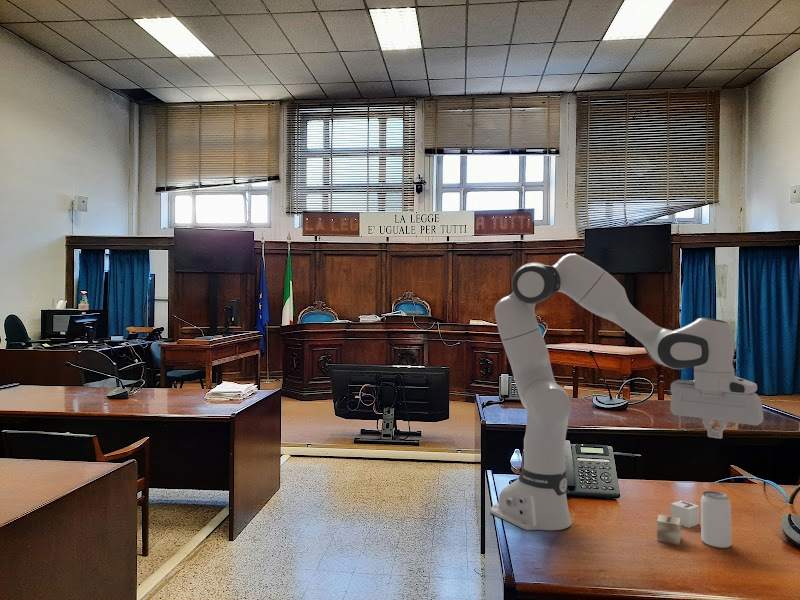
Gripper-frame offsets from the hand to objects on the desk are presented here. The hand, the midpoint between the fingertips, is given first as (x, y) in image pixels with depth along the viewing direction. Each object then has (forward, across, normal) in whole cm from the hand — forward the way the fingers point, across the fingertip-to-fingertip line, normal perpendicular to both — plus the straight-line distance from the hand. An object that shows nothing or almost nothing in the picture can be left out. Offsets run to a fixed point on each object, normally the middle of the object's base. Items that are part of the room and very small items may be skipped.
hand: (715, 437), depth 133 cm
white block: (+26, -10, +8) cm, 29 cm away
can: (+26, 0, 0) cm, 27 cm away
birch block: (+26, -9, -6) cm, 29 cm away
